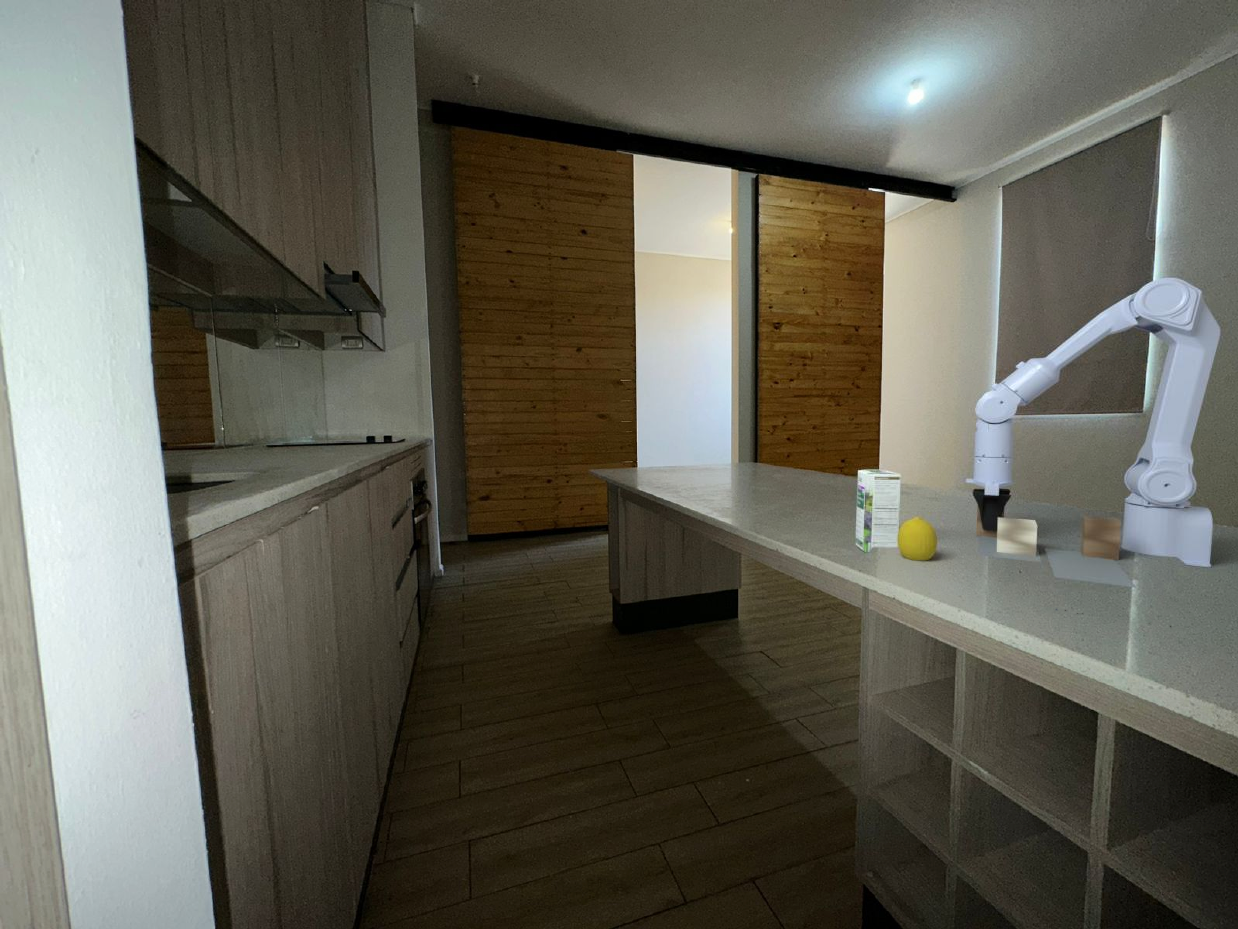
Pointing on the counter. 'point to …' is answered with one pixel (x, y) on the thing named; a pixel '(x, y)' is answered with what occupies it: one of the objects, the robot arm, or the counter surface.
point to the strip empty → (1092, 554)
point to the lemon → (917, 540)
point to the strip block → (990, 544)
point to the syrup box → (877, 509)
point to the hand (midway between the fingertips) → (990, 528)
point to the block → (1016, 536)
